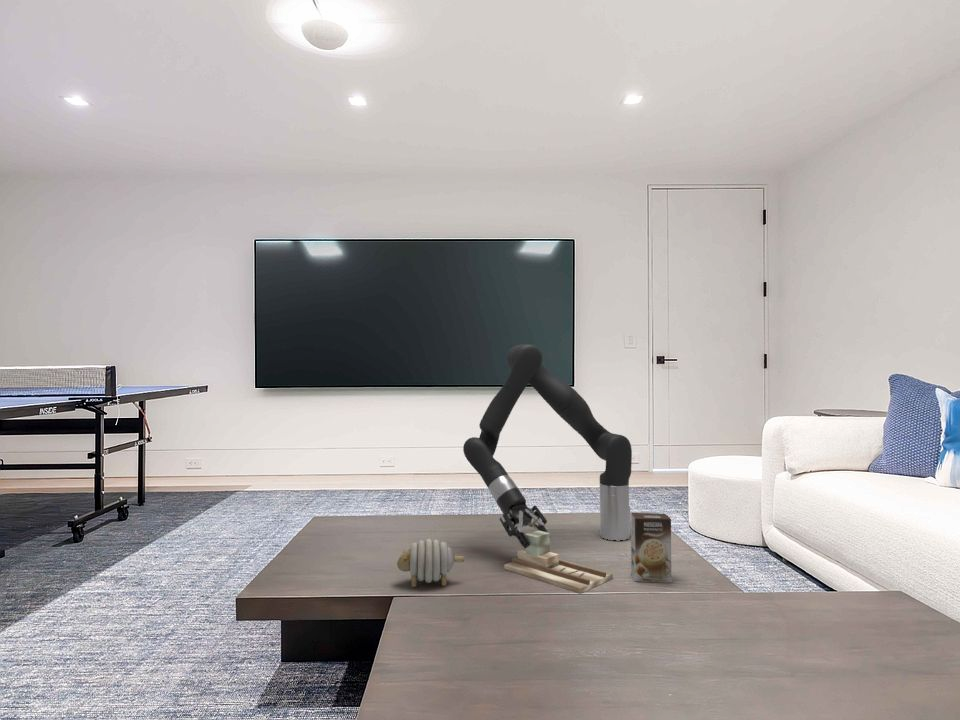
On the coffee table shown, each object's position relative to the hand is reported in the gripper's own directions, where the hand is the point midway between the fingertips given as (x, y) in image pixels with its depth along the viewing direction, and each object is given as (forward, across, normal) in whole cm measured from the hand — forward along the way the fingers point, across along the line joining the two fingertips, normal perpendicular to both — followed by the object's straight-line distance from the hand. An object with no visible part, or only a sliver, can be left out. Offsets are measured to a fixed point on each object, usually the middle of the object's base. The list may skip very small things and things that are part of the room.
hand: (538, 543), depth 155 cm
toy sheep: (-4, -28, +14) cm, 31 cm away
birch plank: (+9, 0, 0) cm, 9 cm away
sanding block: (+4, 0, +4) cm, 6 cm away
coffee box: (+23, +14, -13) cm, 30 cm away
